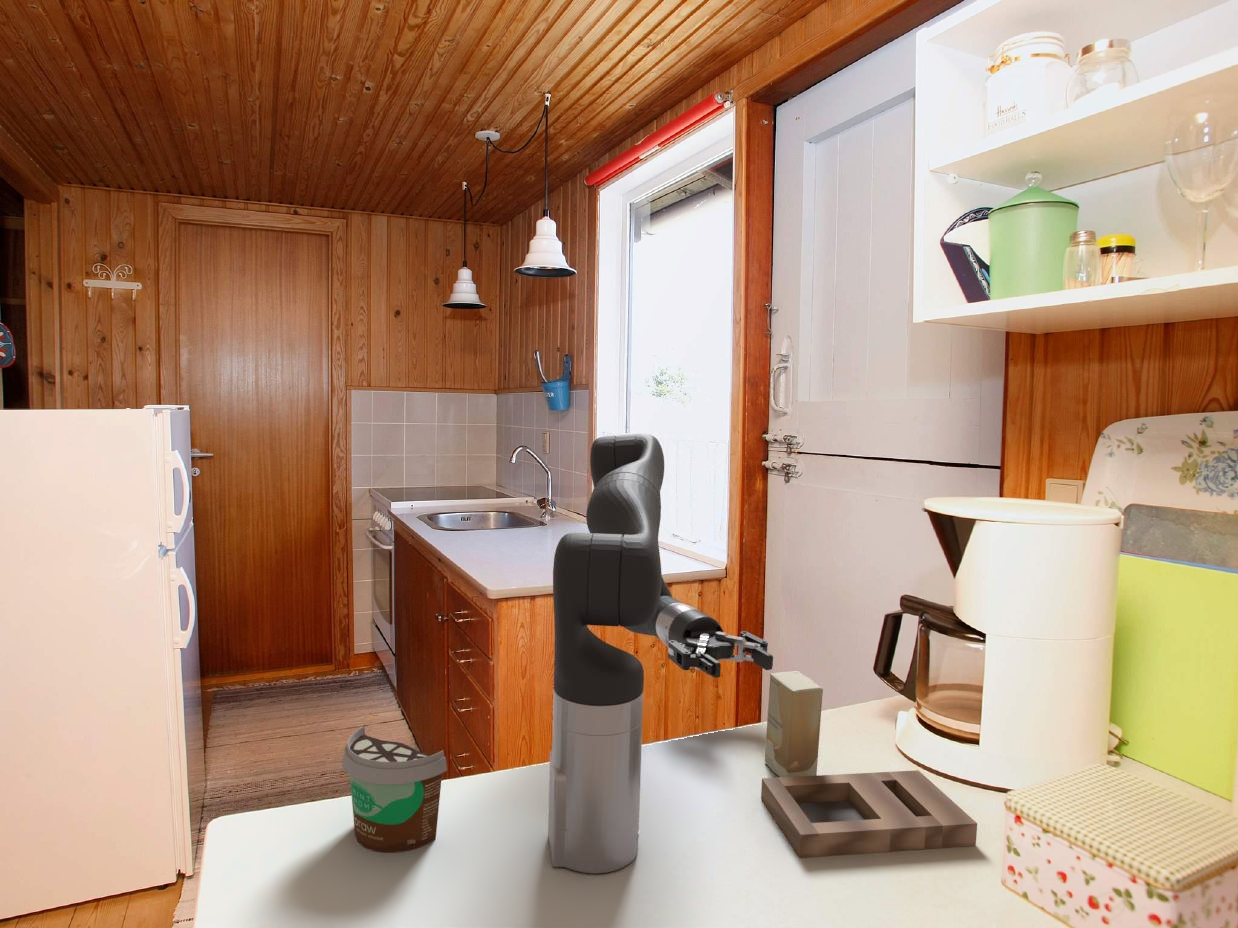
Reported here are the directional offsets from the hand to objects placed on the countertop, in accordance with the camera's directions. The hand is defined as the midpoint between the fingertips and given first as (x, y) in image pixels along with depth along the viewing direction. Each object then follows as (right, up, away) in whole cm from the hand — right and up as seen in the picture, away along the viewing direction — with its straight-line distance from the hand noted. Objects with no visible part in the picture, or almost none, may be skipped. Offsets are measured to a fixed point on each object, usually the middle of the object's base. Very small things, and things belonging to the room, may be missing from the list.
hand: (744, 667), depth 111 cm
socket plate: (+10, -12, -21) cm, 26 cm away
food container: (-42, -11, -27) cm, 52 cm away
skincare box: (+4, -11, -9) cm, 15 cm away
